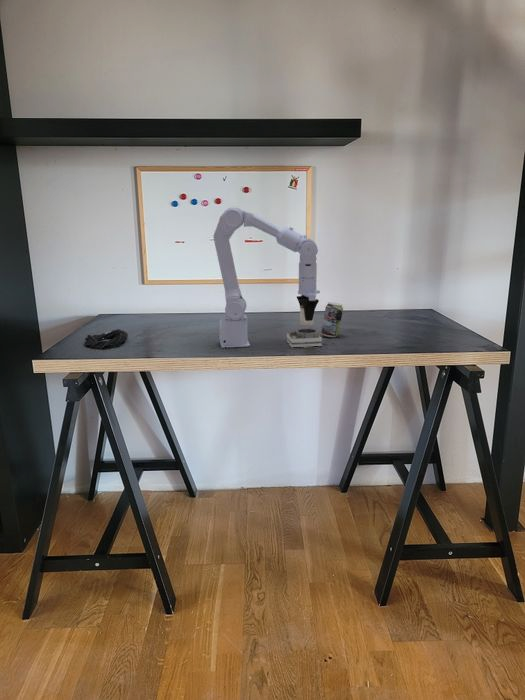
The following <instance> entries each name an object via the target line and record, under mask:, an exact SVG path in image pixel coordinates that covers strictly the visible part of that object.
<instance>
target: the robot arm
mask: <svg viewBox="0 0 525 700" xmlns="http://www.w3.org/2000/svg"><path fill="white" fill-rule="evenodd" d="M242 226H243V227H244V228H245V227H248V228H249V227H253V228H256V229H258V230H260V231H262V232H264V233H266V234H267V235H270V236H272V237H275V239H276V242H277V243H276V244H278V245H280V246H282V247H284V248H286V249H288V250H290V251H291V252H293V253H299V262H298V291H297V294H298V296H296V299H297V302H298V304H299V306H300V305H303V308H304V314H305V320H306V321H312V320H313V316H314V317H315V315H314V314H315V311H316V308H317V305H318V304H319V302H320V300H319V299H318V298H316V297H317V294H320V293H321V290H319V289H318V290H317V270H318V269H317V266H318V264H317V255H318V251H319V249H318V246H317V244H316V242H315V241H314V240H312V239H311V238H308V237H307V235H305V234H303V235H302V234H301V233H299V232H297V231H295V230H294V228H293V227H291V226H289V227H288V226H285V227H282V228H280V227H278V226H276V225H274V224H272V223H270V222H269V221H267V220H266V219H264V218H262V217H260V216H258V215H257V214H254V213H253V212H249V211H246V210H242V209H241V208H239V207H229V208H227V209H226V210H224V212H223V213H222V214H221V215H220V217H219V219H218V222H217V225H216V227H215V231H214V233H213V241H214V246H215V251H216V255H217V260H218V264H219V269H220V274H221V277H222V278H221V279H222V282H223V287H224V292H225V293H224V297H225V303H226V305H225V308H224V312H225V317H224V318H222V319H221V318H220V319H218V321H219V325H218V326H219V329H218V330H219V336H218V338H219V339H218V341H219V344H220V348H223V349H224V348H225V347H226V348H245V347H250V346H251V344H250V342H249V339H248V315H247V314H245V312H246V310H247V302H246V300H245V299H244V297H243V295H242V293H241V288H240V286H239V285H240V284H239V281H238V275H237V271H236V266H235V262H234V255H233V252H232V248H231V243H230V239H231V238H232V236H233V235H234V233H235V232H236V231H237V230H238V229H239V228H240V227H242Z"/></svg>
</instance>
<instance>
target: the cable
mask: <svg viewBox="0 0 525 700" xmlns="http://www.w3.org/2000/svg"><path fill="white" fill-rule="evenodd" d="M128 337H129V334H128V332H127V331H124V330H123V329H120V328H118V329H114V330H113V329H112V331H110V332H109V331H107V332H103V333H101V334H93V335H92V334H87V337H85V338H84V340H85V341H84V343H85V346H89V347H90V348H93V347H94V348H93V349H97V348H99V349H100V348H101V349H100V350H103V349H114V348H115V347H116V348H117V346H119V345H120V344H121V343H126V341H127V339H128ZM102 338H104V339H103V340H101V341H100V339H102ZM111 338H113V339H111ZM107 339H108V340H107Z"/></svg>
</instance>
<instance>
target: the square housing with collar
mask: <svg viewBox="0 0 525 700" xmlns="http://www.w3.org/2000/svg"><path fill="white" fill-rule="evenodd" d="M287 342H288V343H289V344H288V343H287ZM322 342H323V339H322V336H320V331H319V329H317V328H311V327H310V328H306V327H305V328H298V329H296V330H289V331H288V333H286V343H287V344H288V345H289V347H290V346H291V347H304V348H308V347H307V346H322ZM291 347H290V348H291ZM322 347H323V346H322Z"/></svg>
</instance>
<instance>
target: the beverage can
mask: <svg viewBox="0 0 525 700" xmlns="http://www.w3.org/2000/svg"><path fill="white" fill-rule="evenodd" d="M324 309H325V310H324V316H323V321H322V327H321V333H322V334H323V336H324V337H328V338H337V337H338V336H339V334H340V329H341V328H340V327H341V323H342V317H343V313H344V307H343V304H341V303H338V302H331V301H330V302H327V304H326V305H325V308H324Z"/></svg>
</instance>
